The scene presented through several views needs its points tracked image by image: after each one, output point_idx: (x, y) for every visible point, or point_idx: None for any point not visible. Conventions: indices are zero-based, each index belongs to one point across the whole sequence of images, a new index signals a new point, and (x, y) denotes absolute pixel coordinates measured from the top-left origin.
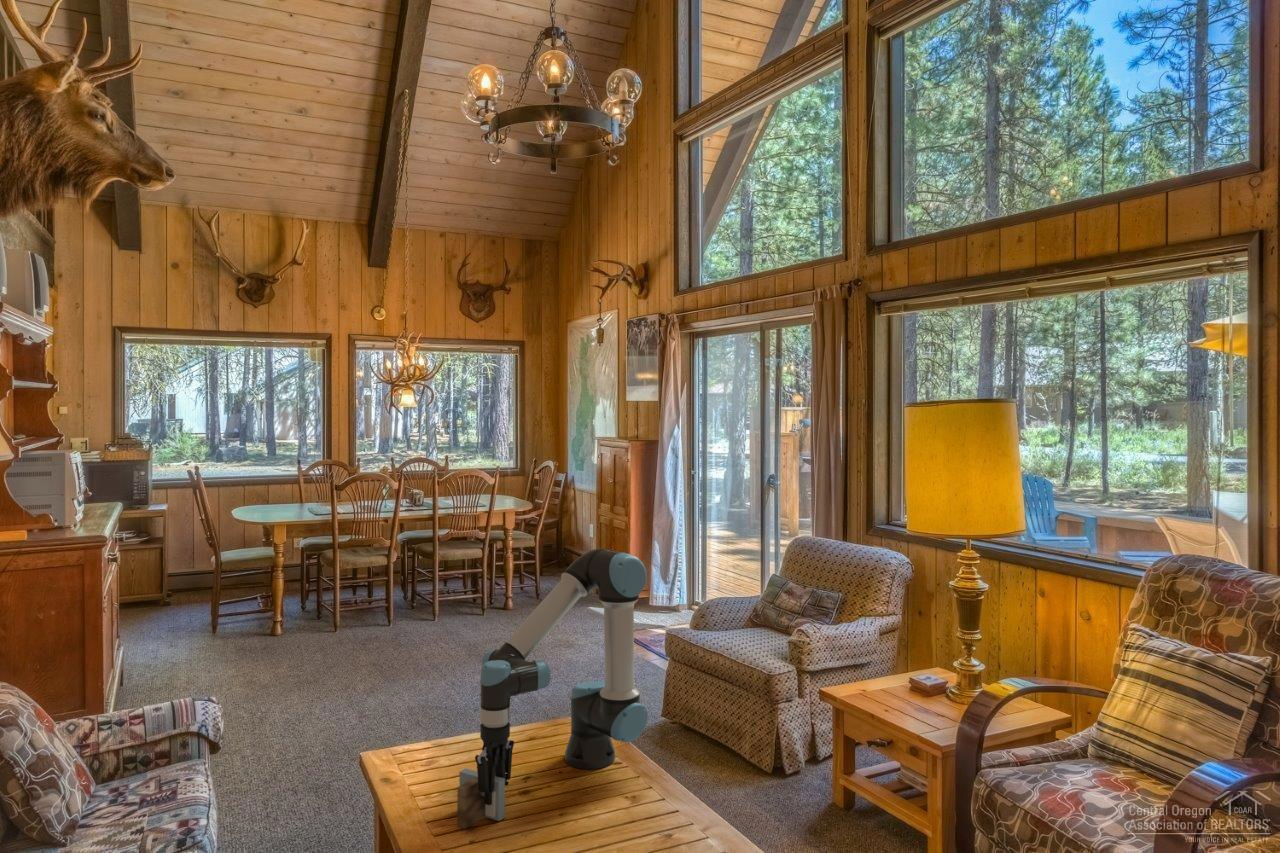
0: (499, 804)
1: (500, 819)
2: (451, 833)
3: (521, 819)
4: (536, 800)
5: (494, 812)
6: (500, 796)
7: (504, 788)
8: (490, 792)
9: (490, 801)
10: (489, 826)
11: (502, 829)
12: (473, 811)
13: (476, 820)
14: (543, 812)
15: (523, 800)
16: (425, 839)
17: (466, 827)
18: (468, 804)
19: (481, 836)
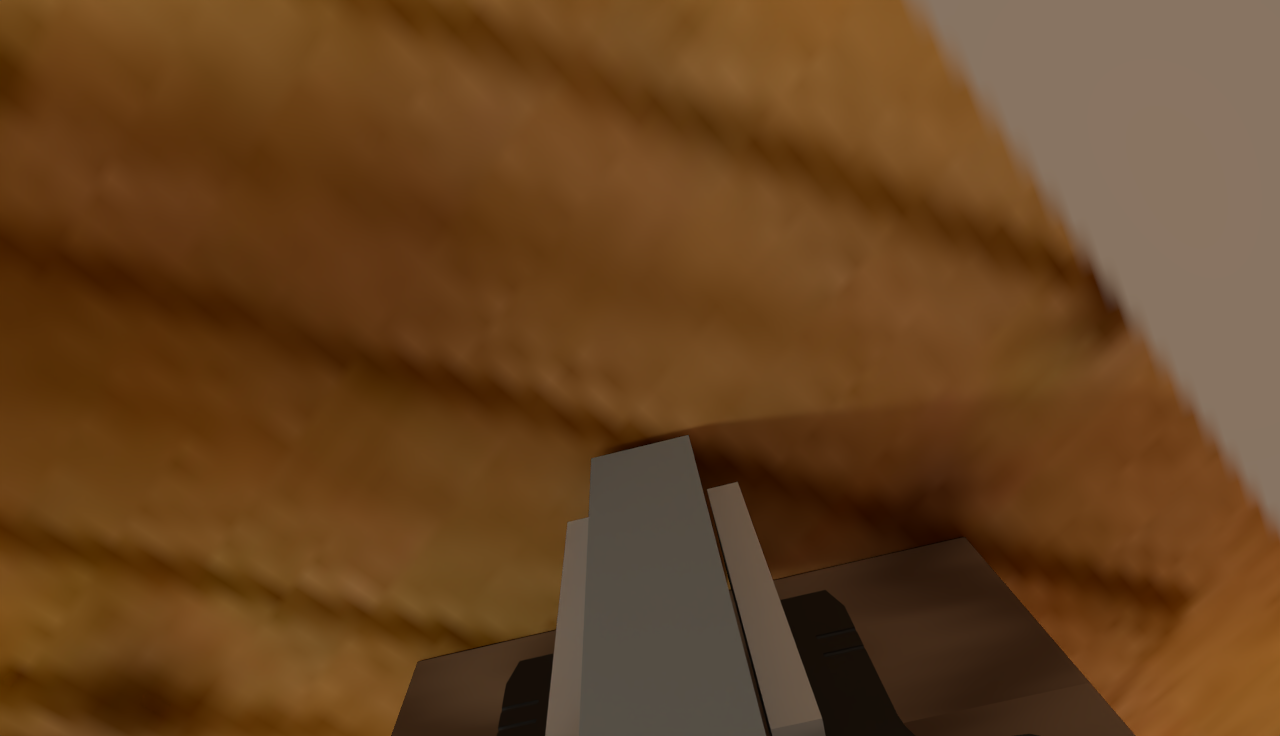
0: (699, 540)
1: (662, 443)
2: (1084, 549)
3: (472, 325)
4: (119, 527)
5: (731, 513)
6: (691, 618)
7: (587, 718)
8: (903, 734)
9: (814, 627)
10: (794, 431)
11: (751, 296)
12: (896, 646)
13: (811, 578)
14: (180, 278)
15: (237, 603)
16: (1264, 602)
17: (947, 543)
18: (1046, 725)
19: (981, 331)
